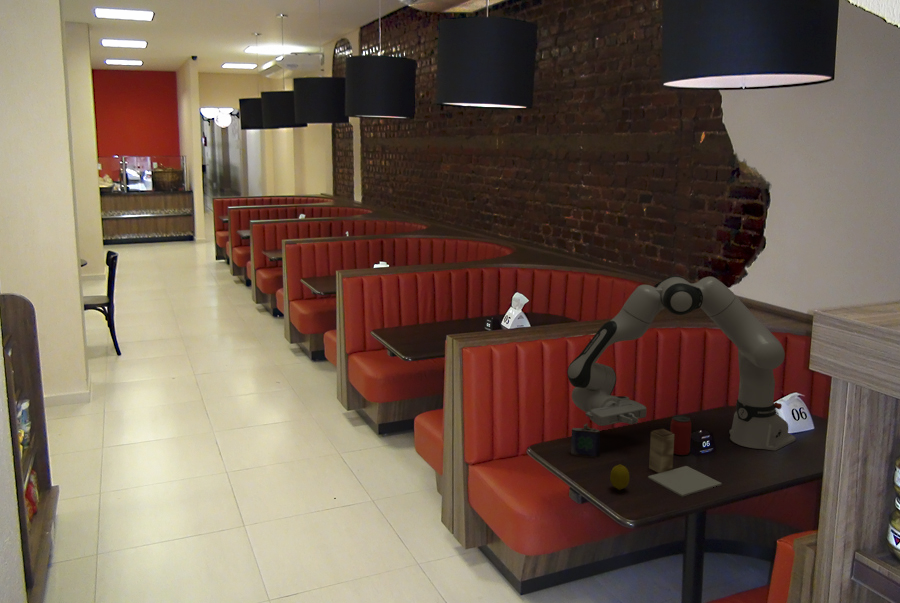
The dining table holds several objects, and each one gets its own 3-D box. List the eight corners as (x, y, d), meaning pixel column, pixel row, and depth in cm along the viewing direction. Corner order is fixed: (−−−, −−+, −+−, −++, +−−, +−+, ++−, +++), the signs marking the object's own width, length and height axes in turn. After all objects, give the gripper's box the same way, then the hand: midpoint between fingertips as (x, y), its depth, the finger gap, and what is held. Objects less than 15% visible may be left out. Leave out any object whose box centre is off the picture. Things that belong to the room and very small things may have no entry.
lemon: (615, 495, 207) (616, 469, 205) (606, 487, 212) (607, 461, 210) (632, 492, 208) (633, 467, 206) (622, 484, 213) (623, 459, 212)
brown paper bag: (660, 464, 227) (662, 428, 225) (672, 470, 223) (674, 433, 220) (648, 467, 225) (650, 430, 222) (660, 473, 220) (662, 436, 218)
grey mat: (686, 467, 225) (686, 465, 225) (721, 485, 213) (721, 483, 212) (648, 478, 218) (648, 476, 217) (682, 496, 205) (682, 494, 205)
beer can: (690, 456, 233) (693, 422, 230) (670, 455, 234) (672, 420, 232) (688, 449, 239) (690, 415, 237) (668, 447, 240) (670, 413, 238)
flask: (570, 455, 235) (571, 424, 233) (571, 452, 237) (572, 421, 235) (599, 458, 232) (600, 427, 230) (599, 454, 235) (600, 423, 233)
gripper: (583, 404, 239) (610, 417, 227) (630, 395, 248) (658, 407, 236) (582, 421, 240) (609, 435, 228) (628, 412, 249) (657, 425, 237)
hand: (634, 421), depth 232 cm, fingers closed
